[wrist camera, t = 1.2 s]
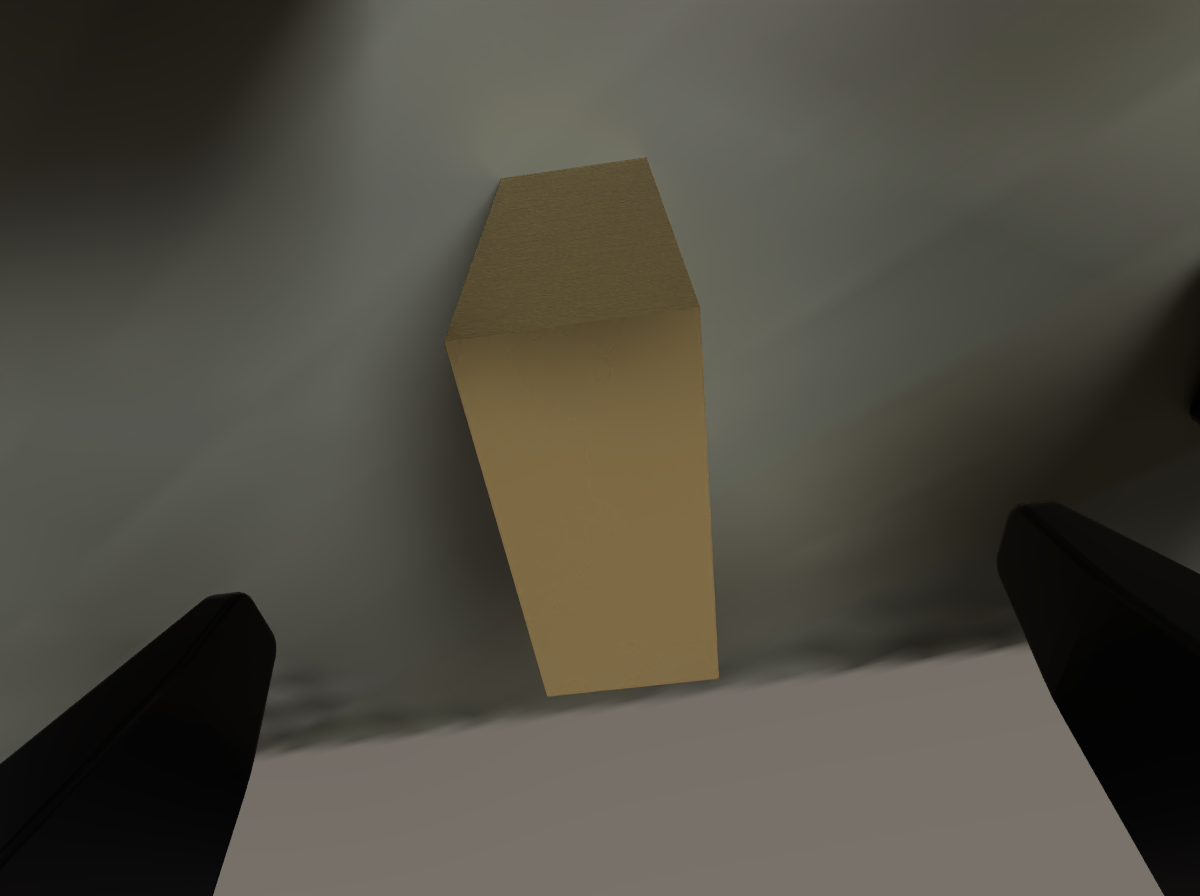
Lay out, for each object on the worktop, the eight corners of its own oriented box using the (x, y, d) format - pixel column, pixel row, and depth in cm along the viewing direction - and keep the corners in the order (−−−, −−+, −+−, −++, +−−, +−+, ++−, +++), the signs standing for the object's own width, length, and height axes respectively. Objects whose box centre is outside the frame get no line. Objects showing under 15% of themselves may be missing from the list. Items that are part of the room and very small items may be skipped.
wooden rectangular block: (645, 157, 12) (700, 307, 7) (670, 435, 16) (718, 678, 10) (501, 178, 12) (443, 341, 7) (557, 448, 16) (547, 696, 10)
